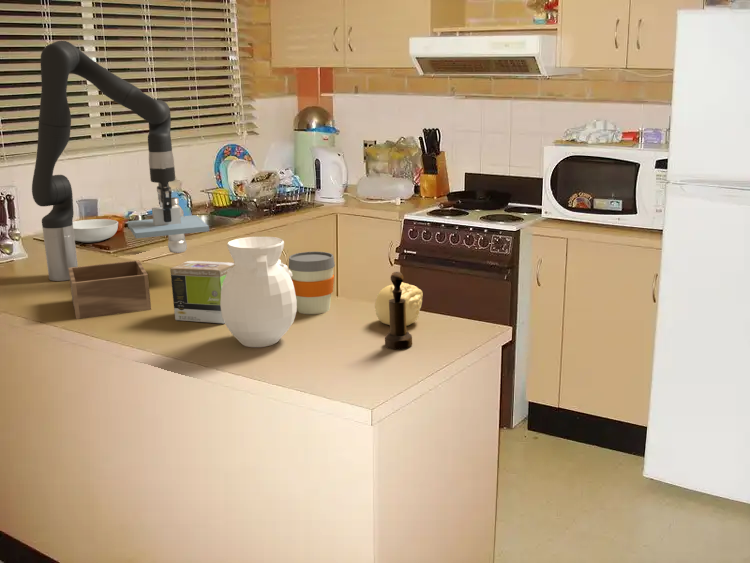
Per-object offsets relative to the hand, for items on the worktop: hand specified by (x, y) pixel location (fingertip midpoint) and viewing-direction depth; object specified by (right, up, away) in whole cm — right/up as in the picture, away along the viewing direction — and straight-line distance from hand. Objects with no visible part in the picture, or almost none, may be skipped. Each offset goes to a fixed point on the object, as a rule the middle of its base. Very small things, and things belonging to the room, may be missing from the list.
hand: (166, 220), depth 268 cm
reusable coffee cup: (+49, -27, -33) cm, 65 cm away
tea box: (+20, -29, -38) cm, 52 cm away
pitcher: (+37, -34, -58) cm, 77 cm away
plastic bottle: (-6, -9, +42) cm, 43 cm away
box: (-10, -26, -23) cm, 36 cm away
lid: (0, -3, +1) cm, 3 cm away
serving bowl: (-46, -3, +69) cm, 83 cm away
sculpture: (+72, -30, -47) cm, 91 cm away
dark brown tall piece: (+71, -35, -64) cm, 102 cm away
